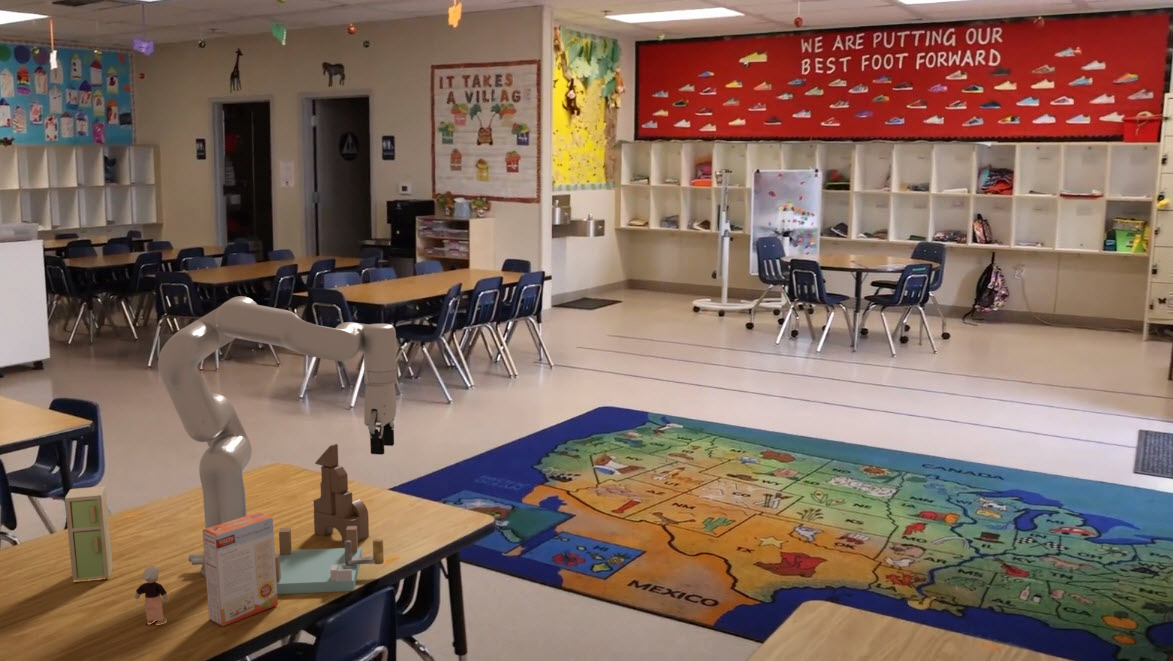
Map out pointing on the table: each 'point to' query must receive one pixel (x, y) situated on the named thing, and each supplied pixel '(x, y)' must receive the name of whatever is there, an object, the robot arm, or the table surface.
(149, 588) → the grandmother figurine
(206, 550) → the cracker box
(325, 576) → the mint green baseplate
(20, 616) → the table surface
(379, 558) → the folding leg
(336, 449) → the wooden toy
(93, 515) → the toy refrigerator
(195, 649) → the table surface
